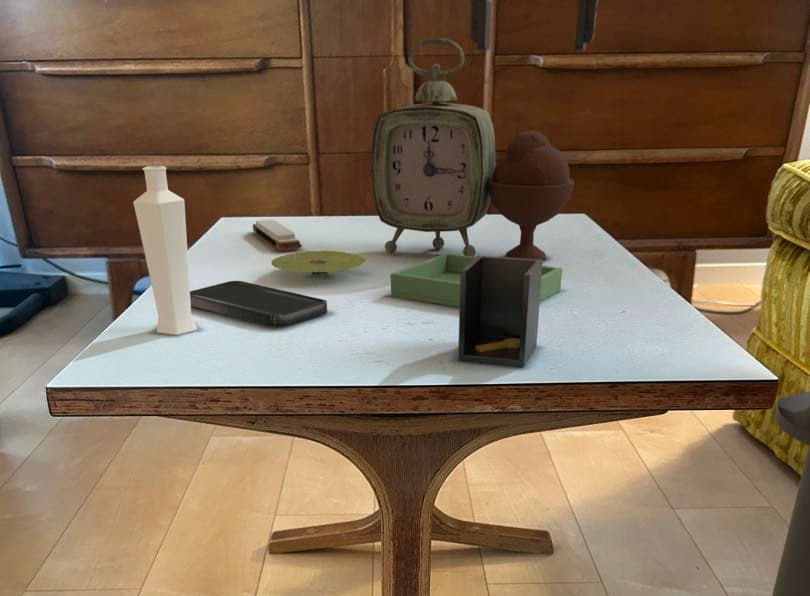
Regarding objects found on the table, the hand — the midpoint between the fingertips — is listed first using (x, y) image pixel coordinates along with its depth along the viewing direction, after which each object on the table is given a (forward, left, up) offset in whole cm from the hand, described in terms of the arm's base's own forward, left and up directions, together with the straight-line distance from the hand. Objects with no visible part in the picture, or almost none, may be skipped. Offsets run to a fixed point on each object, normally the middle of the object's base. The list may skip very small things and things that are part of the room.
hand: (531, 50), depth 77 cm
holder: (-3, +10, -24) cm, 26 cm away
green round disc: (+29, -5, -24) cm, 38 cm away
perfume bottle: (+28, +20, -24) cm, 42 cm away
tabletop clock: (+24, -24, -24) cm, 42 cm away
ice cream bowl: (+12, -27, -24) cm, 39 cm away
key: (-3, +10, -24) cm, 26 cm away
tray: (+9, -8, -24) cm, 27 cm away
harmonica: (+47, -19, -24) cm, 56 cm away
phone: (+26, +10, -24) cm, 37 cm away
